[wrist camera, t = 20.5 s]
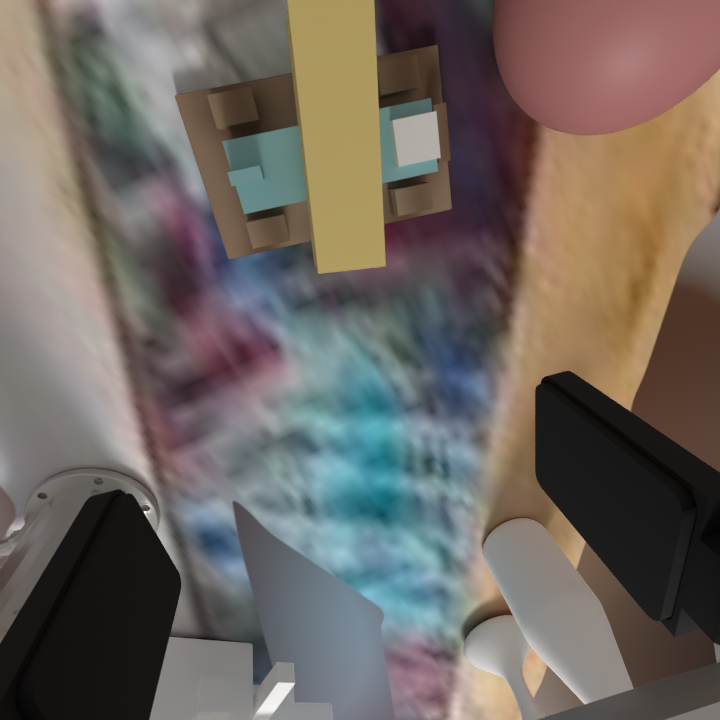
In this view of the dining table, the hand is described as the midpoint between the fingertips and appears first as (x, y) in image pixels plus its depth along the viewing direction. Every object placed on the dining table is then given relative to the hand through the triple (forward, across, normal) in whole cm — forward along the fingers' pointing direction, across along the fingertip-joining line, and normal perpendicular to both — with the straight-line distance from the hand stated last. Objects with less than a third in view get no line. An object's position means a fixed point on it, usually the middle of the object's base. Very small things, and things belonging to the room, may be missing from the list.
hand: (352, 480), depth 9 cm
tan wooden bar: (+23, -4, -7) cm, 25 cm away
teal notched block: (+29, -4, -7) cm, 30 cm away
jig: (+30, -4, -7) cm, 31 cm away
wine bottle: (+31, -19, +45) cm, 58 cm away
